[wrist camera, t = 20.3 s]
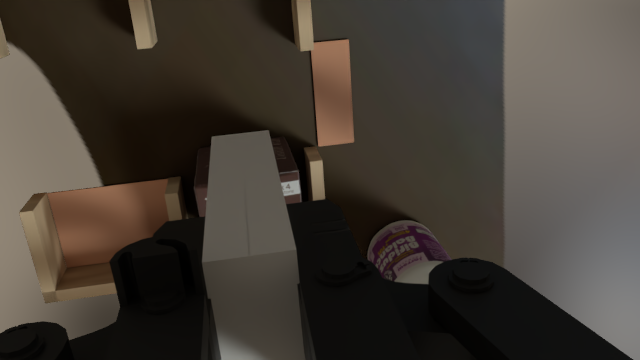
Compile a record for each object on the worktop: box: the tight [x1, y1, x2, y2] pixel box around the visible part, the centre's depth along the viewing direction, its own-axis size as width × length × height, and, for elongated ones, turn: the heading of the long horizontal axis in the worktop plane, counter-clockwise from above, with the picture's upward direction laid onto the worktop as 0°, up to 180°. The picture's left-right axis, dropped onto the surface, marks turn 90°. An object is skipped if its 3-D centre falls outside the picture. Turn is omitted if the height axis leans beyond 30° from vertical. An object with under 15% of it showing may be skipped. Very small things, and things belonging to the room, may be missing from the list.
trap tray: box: [0, 0, 354, 303], centre depth 36 cm, size 24×22×3 cm
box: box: [194, 137, 302, 217], centre depth 36 cm, size 6×6×7 cm
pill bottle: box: [367, 220, 451, 284], centre depth 39 cm, size 5×5×10 cm
